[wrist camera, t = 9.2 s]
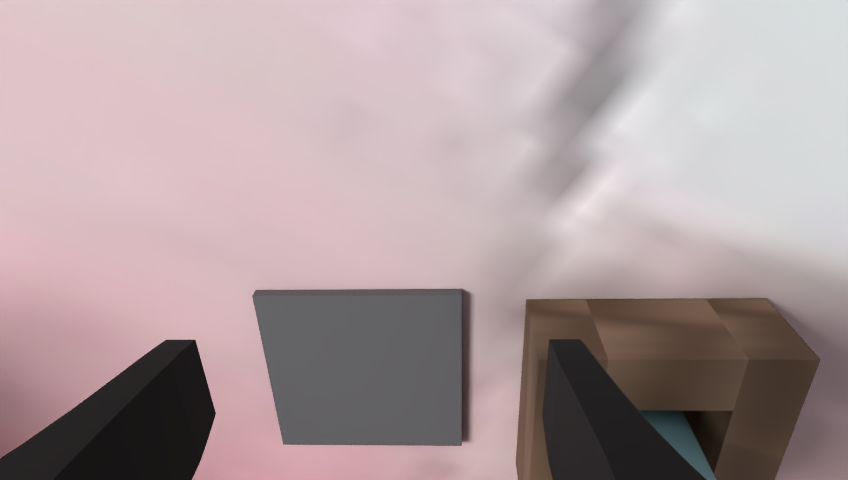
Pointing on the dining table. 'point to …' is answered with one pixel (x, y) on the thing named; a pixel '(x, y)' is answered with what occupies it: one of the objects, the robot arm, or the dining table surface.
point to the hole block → (680, 373)
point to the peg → (680, 437)
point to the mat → (364, 365)
